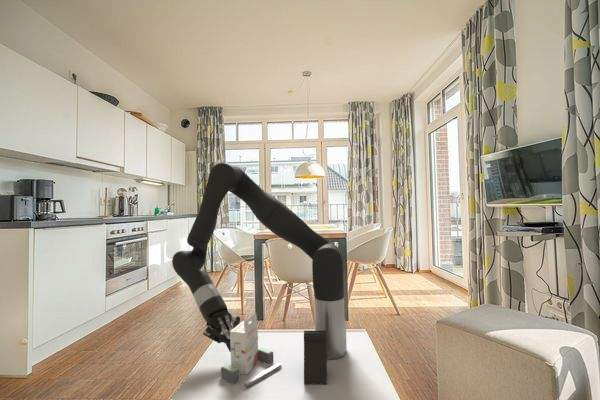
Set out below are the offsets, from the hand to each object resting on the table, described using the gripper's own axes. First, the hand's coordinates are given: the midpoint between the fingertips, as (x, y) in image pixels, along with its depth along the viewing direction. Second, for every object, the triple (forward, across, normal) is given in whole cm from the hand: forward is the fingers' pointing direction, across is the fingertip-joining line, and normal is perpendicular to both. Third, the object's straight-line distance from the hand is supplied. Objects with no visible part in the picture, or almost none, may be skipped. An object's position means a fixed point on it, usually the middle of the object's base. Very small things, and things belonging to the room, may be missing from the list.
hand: (236, 351), depth 98 cm
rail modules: (+6, 0, -1) cm, 6 cm away
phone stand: (+18, +9, -13) cm, 24 cm away
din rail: (+11, 0, -5) cm, 12 cm away
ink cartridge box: (+5, 0, 0) cm, 5 cm away
